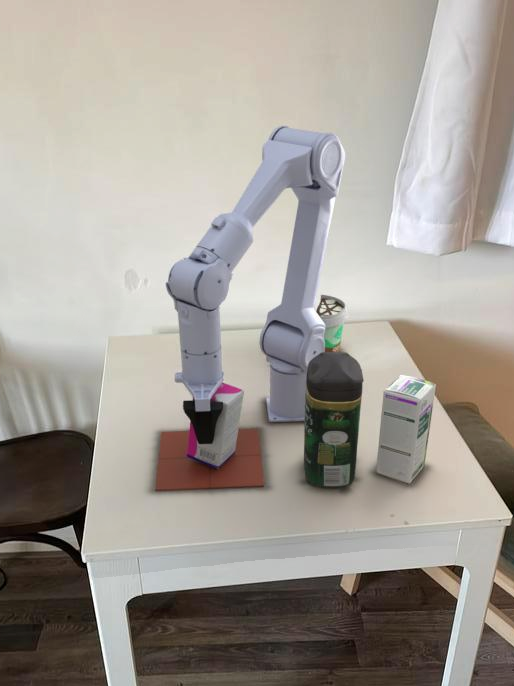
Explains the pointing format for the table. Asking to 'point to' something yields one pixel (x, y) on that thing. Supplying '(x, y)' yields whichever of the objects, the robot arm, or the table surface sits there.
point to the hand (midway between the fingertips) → (205, 429)
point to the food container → (332, 321)
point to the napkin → (195, 475)
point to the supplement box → (219, 429)
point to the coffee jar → (332, 419)
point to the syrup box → (405, 427)
